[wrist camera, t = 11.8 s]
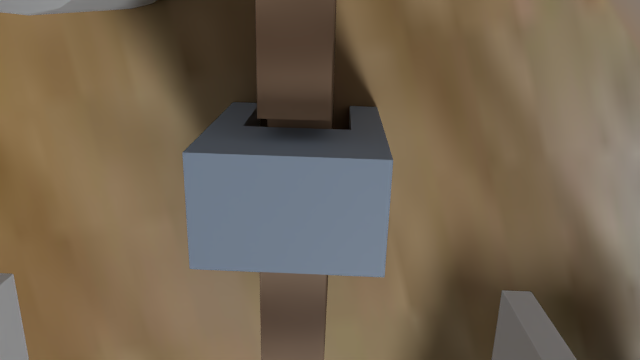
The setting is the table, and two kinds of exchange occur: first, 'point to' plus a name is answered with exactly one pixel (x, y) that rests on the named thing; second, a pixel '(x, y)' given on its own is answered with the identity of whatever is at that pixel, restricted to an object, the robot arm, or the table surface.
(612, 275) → the table surface
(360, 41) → the table surface
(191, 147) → the slotted block
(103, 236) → the table surface
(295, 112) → the notched rail
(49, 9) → the can
